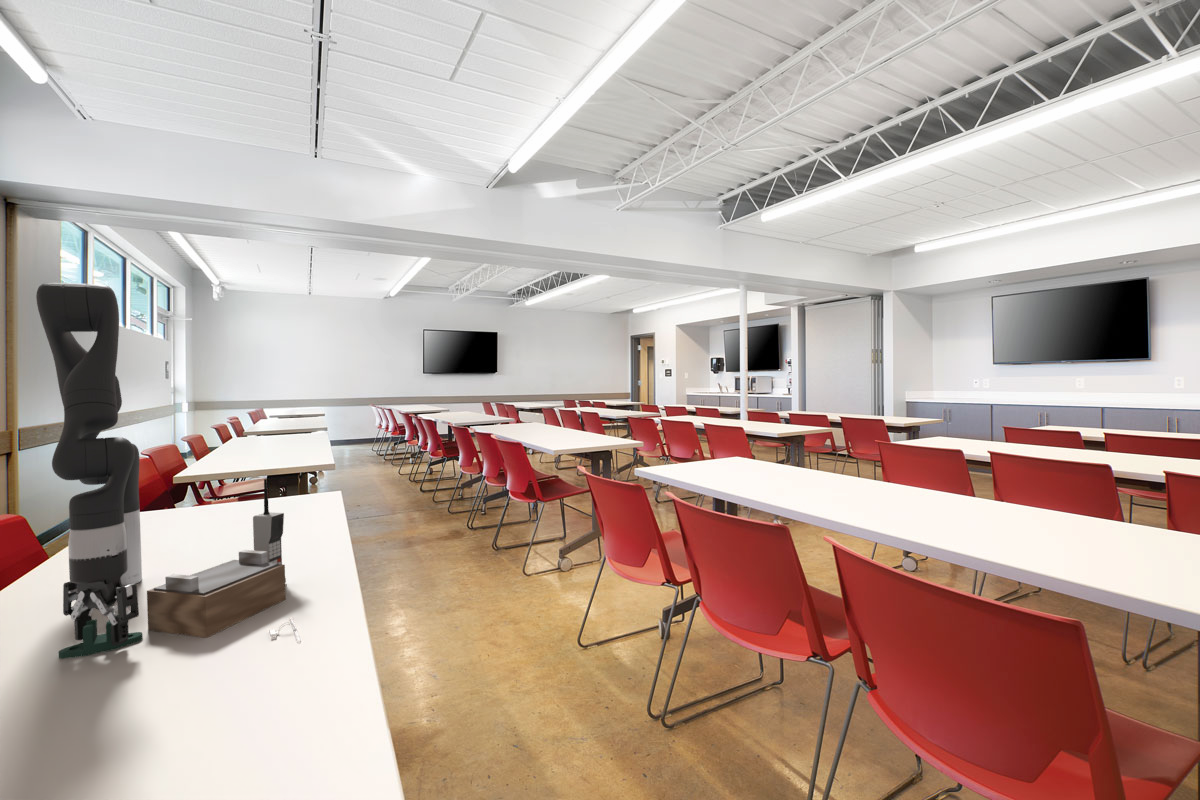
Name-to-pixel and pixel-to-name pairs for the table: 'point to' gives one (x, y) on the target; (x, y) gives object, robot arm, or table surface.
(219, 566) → the tray
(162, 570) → the table surface
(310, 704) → the table surface
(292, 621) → the picture light
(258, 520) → the vintage mobile phone
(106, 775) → the table surface
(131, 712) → the table surface
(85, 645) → the mount
